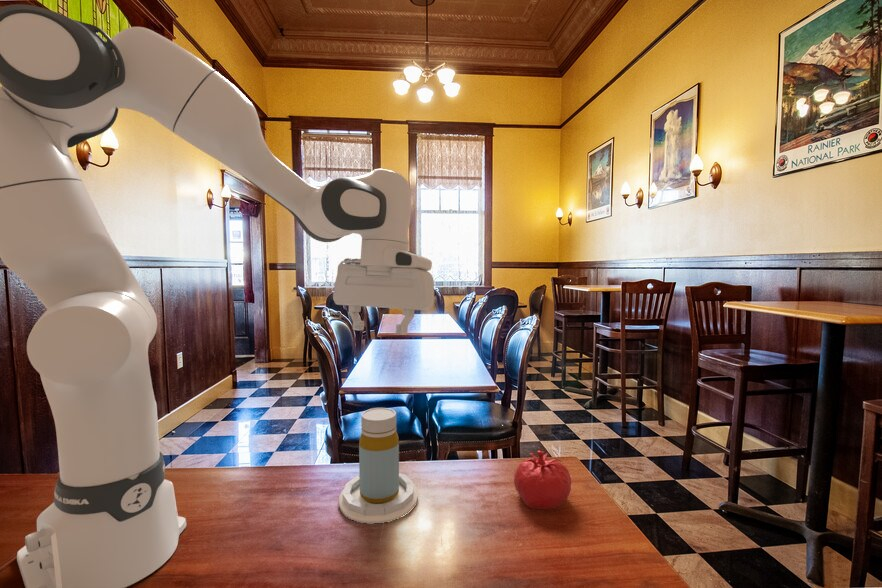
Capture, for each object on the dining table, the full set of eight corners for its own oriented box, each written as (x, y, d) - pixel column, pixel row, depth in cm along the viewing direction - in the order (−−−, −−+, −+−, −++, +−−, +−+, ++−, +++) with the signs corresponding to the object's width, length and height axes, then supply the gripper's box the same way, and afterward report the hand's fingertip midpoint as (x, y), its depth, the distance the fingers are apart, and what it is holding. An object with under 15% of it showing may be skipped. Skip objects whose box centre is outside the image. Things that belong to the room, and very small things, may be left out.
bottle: (392, 507, 72) (392, 422, 70) (353, 503, 73) (352, 419, 71) (403, 485, 78) (403, 408, 77) (367, 482, 80) (366, 405, 78)
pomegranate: (578, 516, 71) (581, 465, 70) (520, 517, 71) (522, 465, 70) (559, 483, 81) (561, 438, 80) (508, 484, 81) (509, 438, 80)
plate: (322, 509, 73) (321, 497, 73) (371, 472, 85) (371, 462, 85) (388, 534, 66) (388, 521, 66) (431, 490, 79) (431, 479, 78)
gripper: (328, 255, 80) (323, 328, 79) (425, 257, 72) (420, 337, 71) (348, 260, 86) (343, 327, 85) (439, 261, 78) (435, 336, 77)
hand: (379, 332), depth 78 cm, fingers open, 8 cm apart
